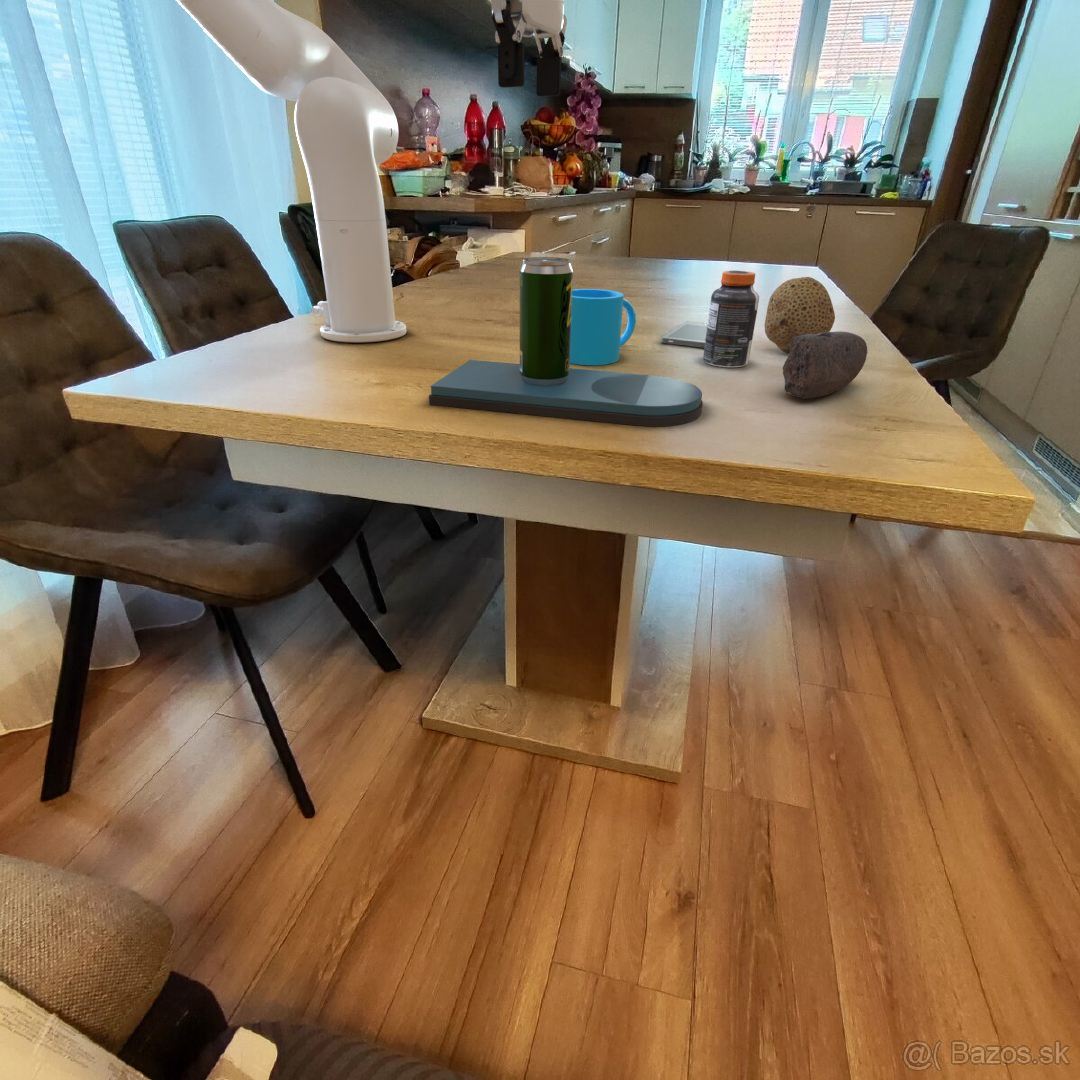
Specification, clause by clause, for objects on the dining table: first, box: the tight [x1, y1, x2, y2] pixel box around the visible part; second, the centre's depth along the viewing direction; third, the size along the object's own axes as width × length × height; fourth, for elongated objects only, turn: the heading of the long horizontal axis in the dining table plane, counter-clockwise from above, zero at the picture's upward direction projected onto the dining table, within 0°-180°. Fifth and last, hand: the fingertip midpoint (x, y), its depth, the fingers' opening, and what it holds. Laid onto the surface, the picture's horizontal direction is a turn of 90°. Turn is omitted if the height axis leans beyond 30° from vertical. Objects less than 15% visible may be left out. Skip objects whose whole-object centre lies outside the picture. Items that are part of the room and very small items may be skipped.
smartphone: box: [661, 320, 708, 348], centre depth 98 cm, size 15×8×1 cm, turn 154°
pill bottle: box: [702, 270, 760, 368], centre depth 82 cm, size 6×6×11 cm
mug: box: [570, 288, 637, 366], centre depth 85 cm, size 12×8×8 cm
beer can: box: [519, 256, 574, 386], centre depth 66 cm, size 5×5×12 cm
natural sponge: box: [764, 276, 836, 353], centre depth 88 cm, size 9×9×10 cm
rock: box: [782, 330, 868, 399], centre depth 72 cm, size 15×5×7 cm, turn 127°
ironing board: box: [428, 359, 704, 427], centre depth 69 cm, size 28×12×2 cm, turn 75°
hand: (530, 91), depth 78 cm, fingers open, 9 cm apart
